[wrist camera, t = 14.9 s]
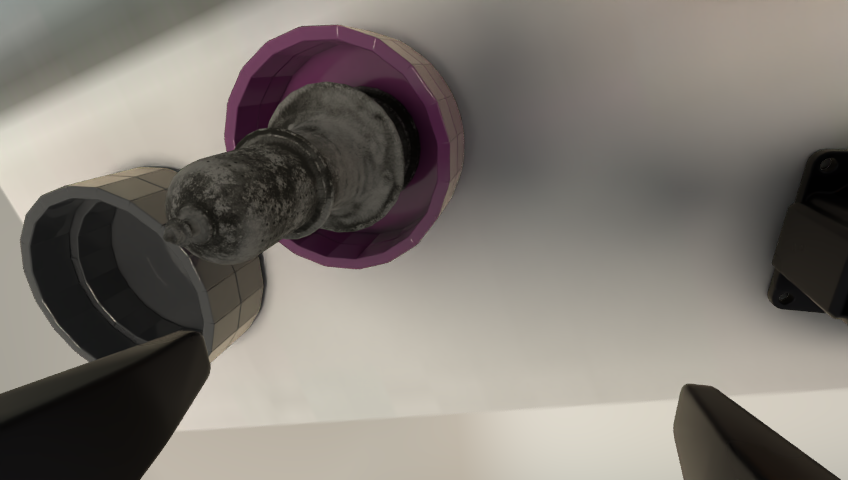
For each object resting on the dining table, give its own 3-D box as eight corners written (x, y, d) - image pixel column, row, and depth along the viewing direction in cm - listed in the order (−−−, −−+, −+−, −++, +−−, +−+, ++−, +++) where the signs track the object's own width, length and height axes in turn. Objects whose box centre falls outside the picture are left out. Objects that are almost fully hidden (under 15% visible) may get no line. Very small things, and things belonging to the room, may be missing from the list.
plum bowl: (466, 27, 18) (450, 19, 15) (463, 247, 21) (449, 278, 18) (257, 35, 20) (203, 30, 17) (285, 233, 24) (245, 259, 20)
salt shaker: (440, 195, 20) (325, 343, 10) (330, 216, 22) (127, 361, 11) (407, 62, 19) (219, 58, 8) (290, 98, 20) (5, 135, 10)
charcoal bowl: (248, 169, 23) (184, 192, 19) (278, 351, 27) (231, 403, 23) (77, 162, 25) (-12, 181, 21) (128, 329, 29) (62, 372, 25)
